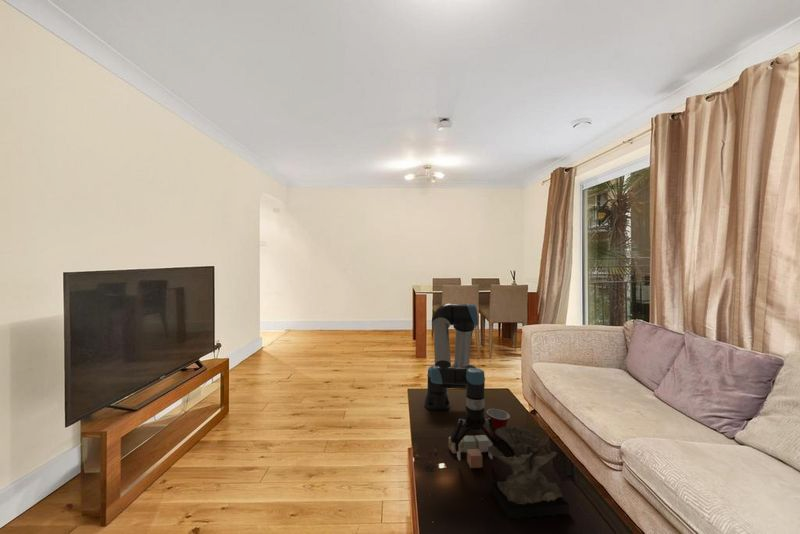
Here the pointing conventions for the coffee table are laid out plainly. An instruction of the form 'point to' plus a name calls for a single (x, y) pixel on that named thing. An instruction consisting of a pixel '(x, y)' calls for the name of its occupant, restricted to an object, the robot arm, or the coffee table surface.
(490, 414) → the plastic cup
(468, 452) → the terracotta cube
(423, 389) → the coffee table surface
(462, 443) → the maple cube
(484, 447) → the offwhite cube
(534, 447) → the coral
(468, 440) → the sage cube
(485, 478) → the coffee table surface
